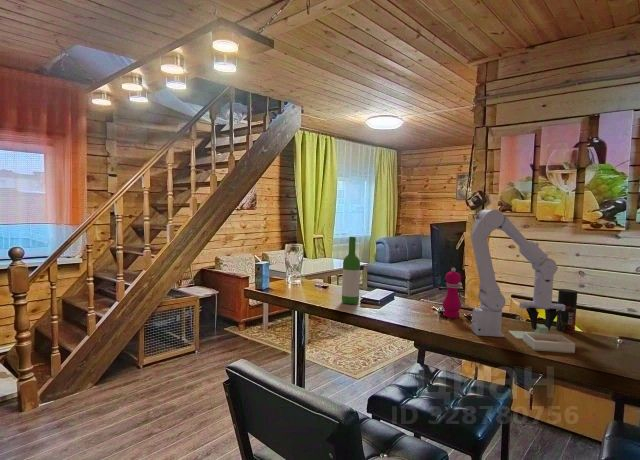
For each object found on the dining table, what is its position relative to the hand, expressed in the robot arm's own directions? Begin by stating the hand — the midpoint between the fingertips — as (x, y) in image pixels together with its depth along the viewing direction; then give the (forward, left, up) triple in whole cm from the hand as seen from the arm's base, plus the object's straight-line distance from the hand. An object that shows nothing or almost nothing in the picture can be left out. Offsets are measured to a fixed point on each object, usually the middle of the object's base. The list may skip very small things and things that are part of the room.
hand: (540, 329), depth 142 cm
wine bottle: (-68, +33, -2) cm, 76 cm away
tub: (-2, -12, -2) cm, 12 cm away
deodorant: (+13, +9, -2) cm, 16 cm away
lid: (-4, 0, -3) cm, 5 cm away
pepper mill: (-26, +20, -2) cm, 33 cm away
